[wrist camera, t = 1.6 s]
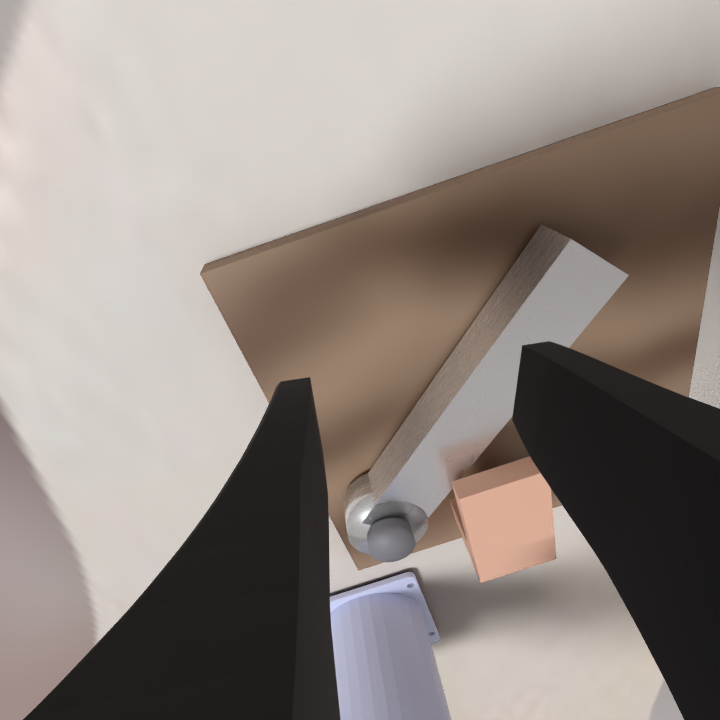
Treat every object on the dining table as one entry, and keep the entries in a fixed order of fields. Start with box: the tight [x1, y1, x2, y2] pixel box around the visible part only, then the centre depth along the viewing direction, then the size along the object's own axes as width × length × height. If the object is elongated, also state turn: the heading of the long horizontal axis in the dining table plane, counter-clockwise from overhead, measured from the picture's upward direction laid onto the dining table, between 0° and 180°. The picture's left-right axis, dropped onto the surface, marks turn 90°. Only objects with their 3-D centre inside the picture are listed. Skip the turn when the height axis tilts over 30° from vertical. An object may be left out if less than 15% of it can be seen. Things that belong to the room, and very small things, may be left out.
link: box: [343, 224, 629, 555], centre depth 19 cm, size 17×4×2 cm, turn 152°
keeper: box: [367, 456, 556, 583], centre depth 22 cm, size 9×7×4 cm
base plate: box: [200, 87, 720, 570], centre depth 21 cm, size 20×20×1 cm
